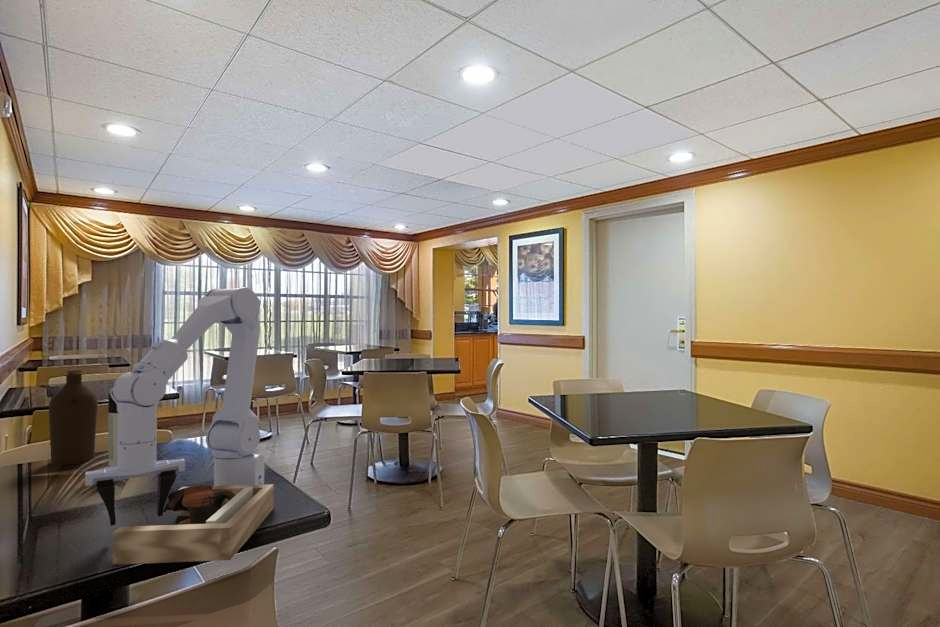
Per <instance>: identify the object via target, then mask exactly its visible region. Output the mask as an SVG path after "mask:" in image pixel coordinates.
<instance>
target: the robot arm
mask: <svg viewBox="0 0 940 627" xmlns="http://www.w3.org/2000/svg"><path fill="white" fill-rule="evenodd" d="M261 302H262V301H261V300H260V298H259V297H258V296H257V294H256V293H255V292H254V290H253V289H252V288H249V287H245V286H243V287H238V288H235V287H234V288H212V289H210V290H208V291H206V293H205V295H204V296H202V297H201V298H200V299H199V300H198V305H197V307H196V308H195V309H194V310H193V312H192V313H191V314H190V315H189V317H188V318H186V320H185V321H184V323H183V324H182V325H181V326H180V328H178V330H177V331H176V332H175V334H174V335H173V336H172V337H171V338H170V339H161V340H160V341H155V342H153V344H151V346H150V348H151V350H149V352H148V353H147V354H145V356H144V357H143V358H142V359H141V360H140V361H139V362H135V364H134V365H133V366H132V370H131V371H127V372H126V373H122V374H121V375H119V376H118V378H117V379H116V380H115V381H114V383H113V384H114V385H113V386H112V387H111V388H110V389H109V393H110V395H111V397H112V399H113V400H114V401H115V402H116V404H117V412H118V466H115V467H110V468H109V467H107V468H101V469H96V470H90V471H85V484H84V485H85V487H89V486H93V485H95V484H96V491H97V493H98V495H99V496H100V498H101V499H102V502H103V504H104V506H105V507H106V511H107V514H108V518H109V524H110V526H116V522H117V521H116V520H117V519H116V510H115V496H116V494H115V493H116V492H115V491H116V484H115V482H116V481H122V480H128V479H136V478H141V477H147V476H155V475H156V476H157V499H156V500H157V503H156V514H157V517H162V516H163V515H164V512H163V511H164V508H165V506H166V501H167V498H168V495H169V494H170V491H171V489H172V487H173V485H174V484H175V481H176V479H177V474H176V472H178V473H182V472H185V471H186V460H185V459H184V458H176V459H174V458H173V459H164V460H163V459H161V460H157V447H158V446H157V438H158V437H157V436H158V435H157V434H158V432H157V431H158V430H157V428H158V427H157V425H158V402H160V401H161V400H162V399H163V398H164V396H165V395H166V394H165V393H166V388H167V384H168V383H169V381H170V379H172V377H173V376H175V375H174V374H176V373H177V371H179V369H180V368H181V367H182V366H183V365H184V364H185V362H187V360H188V359H189V358H188V356H189V355H188V350H189V348H191V346H193V344H195V342H197V341H198V340H199V339H200V338H201V337H202V336H203V335H204V334H205V333H206V332H207V331H208V330H209V329H210V328H211V327H212V326H213V325H215V323H216V324H217V323H219V324H220V325H222V326H224V327H225V328H226V329H227V330H228V331H229V333H230V334H231V340H230V347H229V348H230V349H229V354H228V363H227V370H226V378H225V383H224V389H223V390H224V392H223V399H222V406H221V408H220V409H219V410H218V411H217V412H216V413H215V414H213V416H212V418H211V419H212V420H211V423H210V426H209V428H208V429H207V432H206V434H205V443H206V446H207V447H208V449H209V450H211V455H212V456H213V461H214V462H213V486H230V485H265V459H264V456H263V454H260V453H255V450H257V448H258V446H259V445H260V440H261V432H260V427H259V422H260V419H259V417H258V416H257V415H256V414H255V412H253V410H252V409H251V406H252V405H251V404H252V394H253V389H254V383H255V382H254V380H255V373H256V364H257V358H258V357H257V356H258V349H259V343H260V342H259V341H260V335H261V324H260V310H261V309H260V308H261Z"/></svg>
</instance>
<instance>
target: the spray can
mask: <svg viewBox="0 0 940 627" xmlns="http://www.w3.org/2000/svg"><path fill="white" fill-rule="evenodd" d="M107 414H108V420H107V421H108V422H107V423H108V424H107V426H108V433H107V434H108V435H107V436H108V437H107V438H108V440H107V441H108V444H107V445H108V451H107V452H108V456H107V457H108V462H107V463H108V468H110V467H115V466H118V412H117V404H116V402H115V401H114V400H113V399H112V397H111V395H110V392H108V410H107Z"/></svg>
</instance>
